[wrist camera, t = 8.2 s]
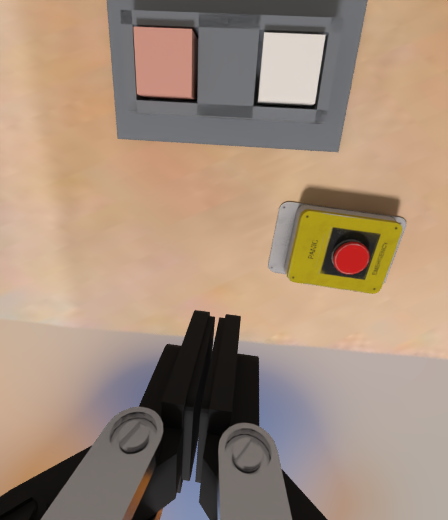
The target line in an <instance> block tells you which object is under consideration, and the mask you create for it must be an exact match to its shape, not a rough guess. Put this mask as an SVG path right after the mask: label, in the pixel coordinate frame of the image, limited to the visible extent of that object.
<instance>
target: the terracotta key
mask: <svg viewBox="0 0 448 520" xmlns="http://www.w3.org/2000/svg"><path fill="white" fill-rule="evenodd" d="M133 29H134V48H135V67H136V86H137V94H138V95H140V96H143V97H146V98H151V99H170V100H189V101H197V86H198V39H197V37H196V35H195V33H194V32H193V30H192V29H179V28H154V27H133Z"/></svg>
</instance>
